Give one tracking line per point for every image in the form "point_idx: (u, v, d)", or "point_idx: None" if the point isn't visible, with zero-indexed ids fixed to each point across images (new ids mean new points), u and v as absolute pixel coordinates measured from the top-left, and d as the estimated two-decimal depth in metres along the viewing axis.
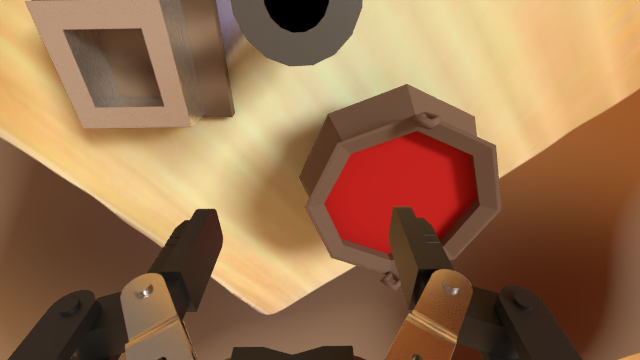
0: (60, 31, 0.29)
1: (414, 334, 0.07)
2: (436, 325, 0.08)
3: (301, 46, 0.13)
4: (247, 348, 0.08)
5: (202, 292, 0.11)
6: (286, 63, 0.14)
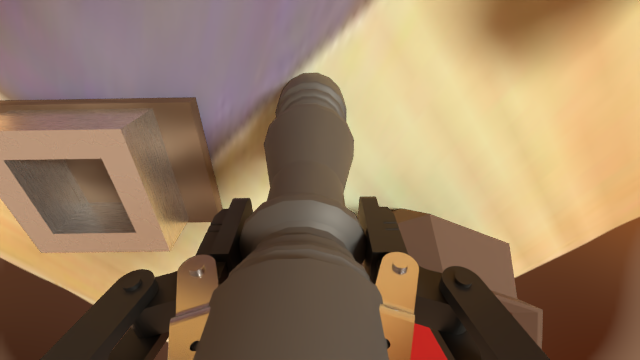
0: (1, 161, 0.23)
1: None
2: None
3: None
4: None
5: None
6: None
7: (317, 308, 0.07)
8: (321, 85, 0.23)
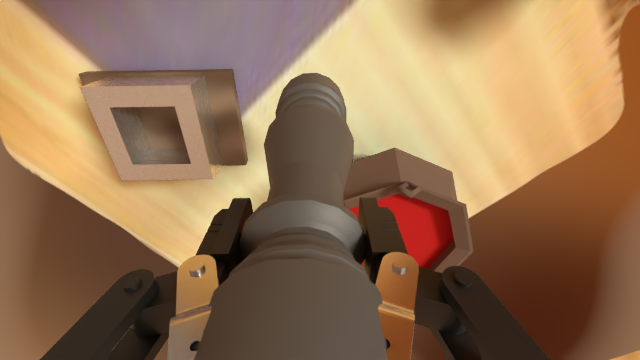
0: (107, 108, 0.35)
1: None
2: None
3: None
4: None
5: None
6: None
7: (316, 307, 0.07)
8: (321, 85, 0.23)
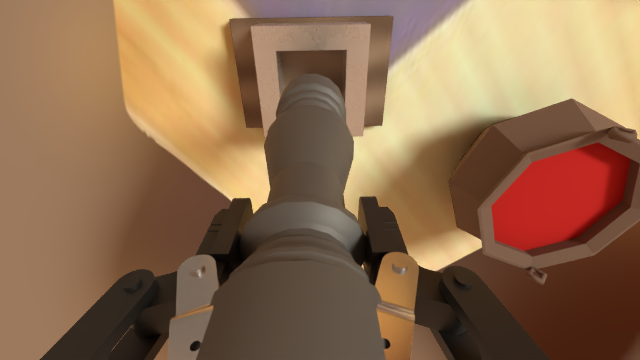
0: (273, 52, 0.33)
1: (378, 320, 0.07)
2: None
3: None
4: None
5: None
6: None
7: (317, 310, 0.07)
8: (321, 86, 0.23)
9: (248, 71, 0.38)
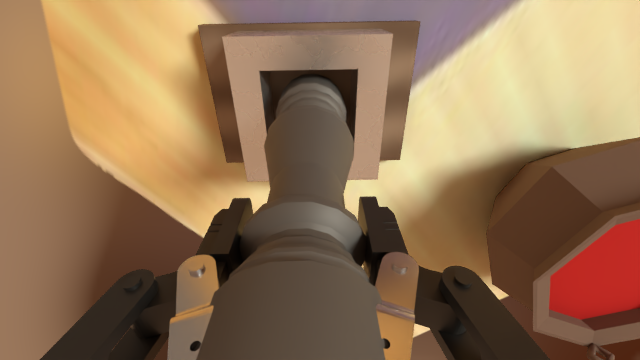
0: (255, 72, 0.23)
1: (378, 320, 0.07)
2: None
3: None
4: None
5: None
6: None
7: (317, 310, 0.07)
8: (322, 86, 0.23)
9: (226, 93, 0.29)
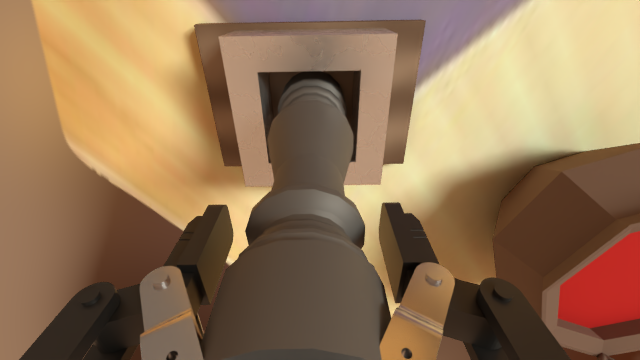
0: (254, 74, 0.22)
1: (402, 328, 0.07)
2: (417, 315, 0.08)
3: None
4: None
5: (215, 286, 0.11)
6: None
7: (320, 281, 0.07)
8: (323, 82, 0.24)
9: (224, 95, 0.28)
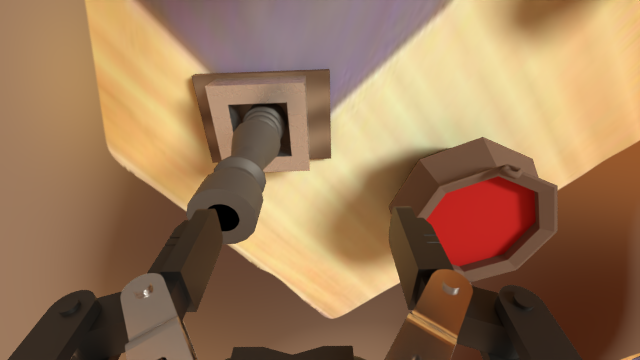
0: (226, 105, 0.39)
1: (414, 334, 0.07)
2: (436, 325, 0.08)
3: (228, 236, 0.24)
4: (247, 348, 0.08)
5: (202, 292, 0.11)
6: None
7: (229, 178, 0.24)
8: (268, 108, 0.41)
9: (210, 116, 0.45)
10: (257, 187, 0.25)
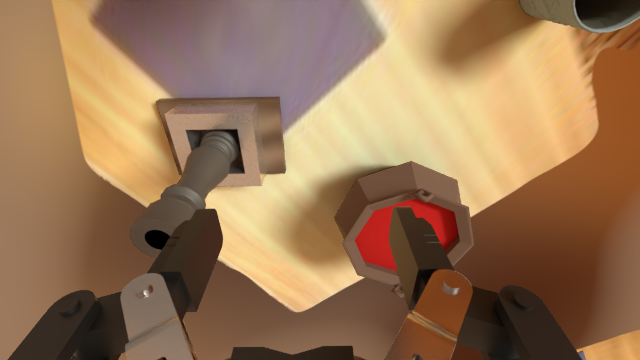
0: (183, 130, 0.44)
1: (414, 334, 0.07)
2: (436, 325, 0.08)
3: None
4: (247, 348, 0.08)
5: (202, 292, 0.11)
6: None
7: (164, 208, 0.29)
8: (222, 132, 0.46)
9: None
10: (191, 213, 0.31)
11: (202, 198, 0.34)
